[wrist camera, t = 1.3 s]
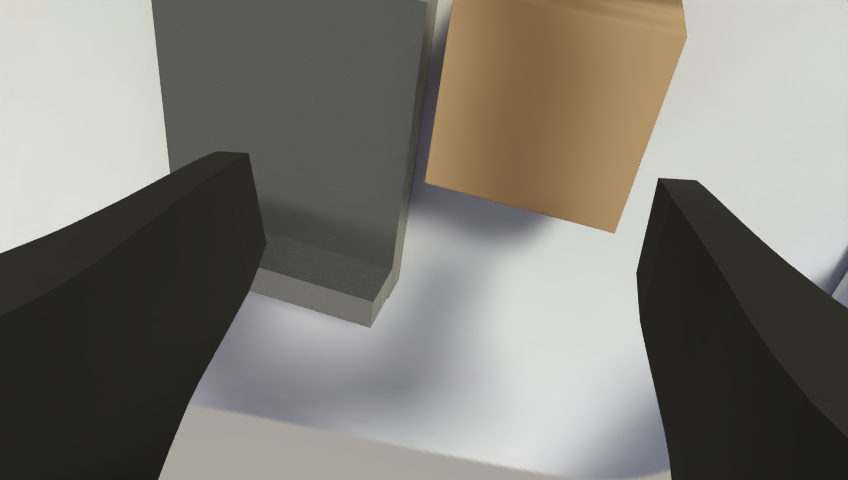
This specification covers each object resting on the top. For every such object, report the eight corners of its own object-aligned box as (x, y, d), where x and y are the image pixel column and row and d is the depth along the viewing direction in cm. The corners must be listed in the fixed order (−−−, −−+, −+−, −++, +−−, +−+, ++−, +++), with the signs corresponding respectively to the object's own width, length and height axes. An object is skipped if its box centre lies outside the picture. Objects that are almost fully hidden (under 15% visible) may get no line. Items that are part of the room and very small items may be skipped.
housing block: (700, -76, 17) (715, -41, 13) (622, 150, 20) (614, 233, 16) (510, -112, 17) (466, -89, 13) (468, 112, 21) (424, 182, 17)
